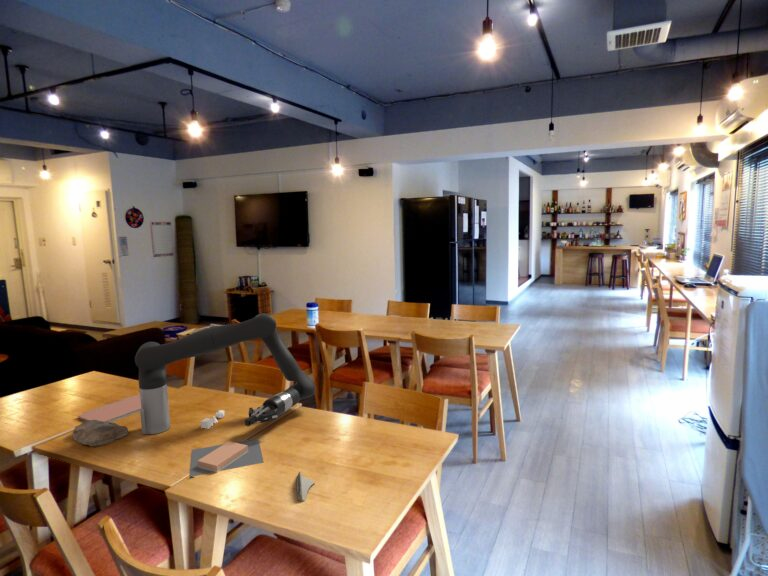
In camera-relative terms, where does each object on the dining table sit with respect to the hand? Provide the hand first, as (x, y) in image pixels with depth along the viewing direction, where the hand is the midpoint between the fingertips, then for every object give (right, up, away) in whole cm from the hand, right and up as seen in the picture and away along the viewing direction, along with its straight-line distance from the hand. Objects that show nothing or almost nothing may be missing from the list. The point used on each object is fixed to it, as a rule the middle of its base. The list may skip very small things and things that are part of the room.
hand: (246, 423), depth 158 cm
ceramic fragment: (+24, -12, -25) cm, 36 cm away
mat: (-5, -9, -7) cm, 12 cm away
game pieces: (-19, -6, +21) cm, 29 cm away
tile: (-2, -7, -3) cm, 8 cm away
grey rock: (-58, -8, +11) cm, 60 cm away
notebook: (-63, -5, +34) cm, 72 cm away
